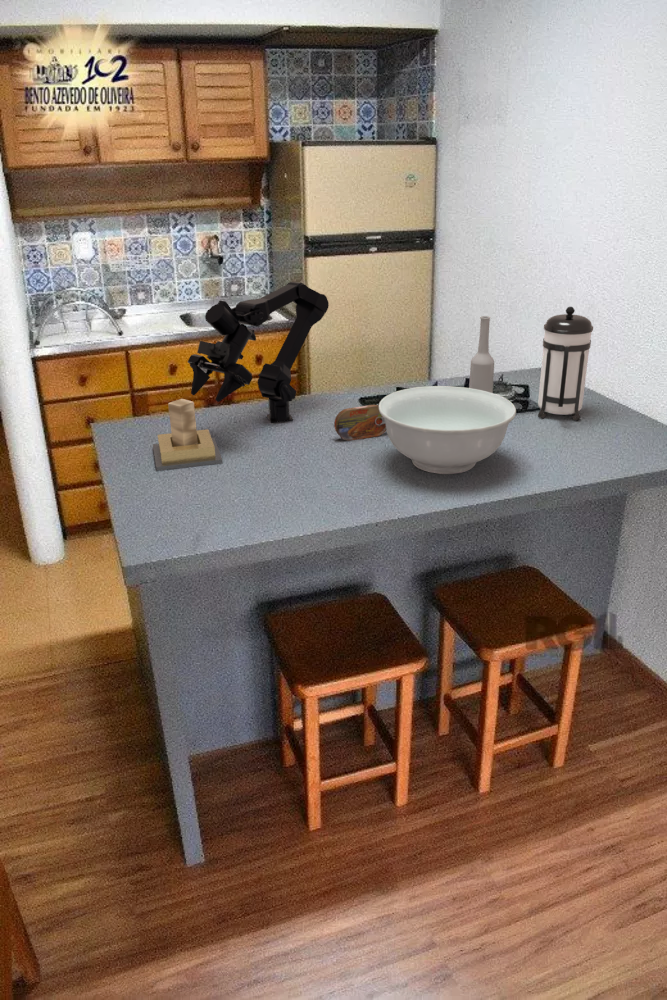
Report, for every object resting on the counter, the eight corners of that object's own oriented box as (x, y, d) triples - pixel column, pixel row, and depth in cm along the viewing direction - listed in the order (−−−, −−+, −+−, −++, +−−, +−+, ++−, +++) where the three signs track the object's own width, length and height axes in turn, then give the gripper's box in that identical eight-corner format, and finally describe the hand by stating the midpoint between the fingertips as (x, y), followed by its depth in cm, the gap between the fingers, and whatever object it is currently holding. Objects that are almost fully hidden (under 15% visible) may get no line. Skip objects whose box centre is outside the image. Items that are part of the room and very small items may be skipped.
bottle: (465, 419, 217) (471, 318, 205) (469, 412, 223) (474, 313, 211) (489, 421, 215) (496, 320, 203) (492, 413, 221) (499, 314, 209)
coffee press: (518, 410, 223) (527, 305, 210) (562, 402, 229) (573, 299, 216) (557, 429, 208) (570, 316, 196) (604, 419, 214) (619, 310, 202)
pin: (187, 447, 199) (181, 398, 194) (198, 451, 197) (193, 401, 191) (173, 452, 196) (168, 403, 191) (185, 456, 194) (179, 406, 188)
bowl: (540, 470, 184) (546, 411, 178) (429, 501, 170) (431, 438, 163) (456, 430, 209) (458, 377, 203) (353, 454, 195) (352, 398, 189)
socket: (153, 447, 202) (151, 433, 200) (214, 441, 206) (213, 426, 204) (156, 470, 188) (154, 455, 186) (222, 463, 192) (221, 448, 190)
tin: (337, 442, 203) (336, 412, 199) (333, 438, 206) (332, 408, 202) (390, 435, 207) (390, 405, 204) (385, 431, 210) (386, 401, 206)
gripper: (189, 323, 198) (160, 375, 196) (240, 332, 188) (210, 388, 185) (214, 346, 207) (187, 397, 204) (265, 357, 196) (237, 410, 194)
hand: (204, 397), depth 197 cm, fingers open, 9 cm apart
